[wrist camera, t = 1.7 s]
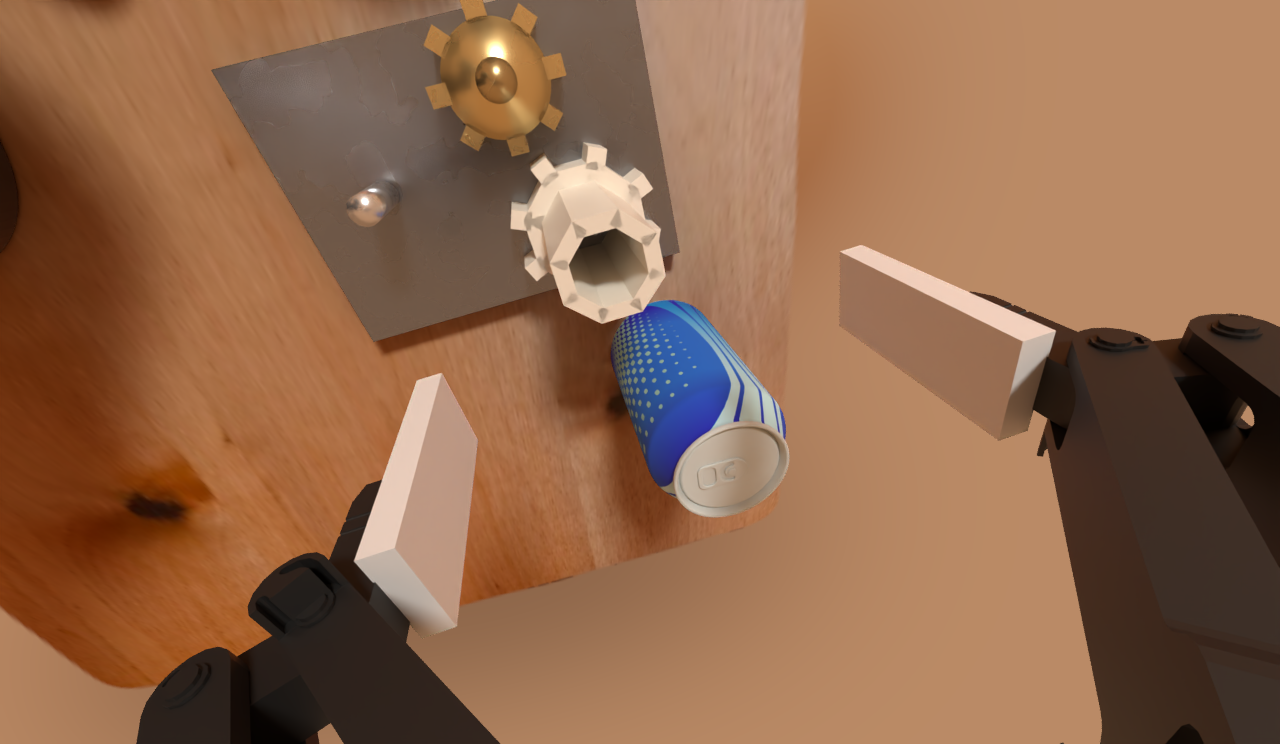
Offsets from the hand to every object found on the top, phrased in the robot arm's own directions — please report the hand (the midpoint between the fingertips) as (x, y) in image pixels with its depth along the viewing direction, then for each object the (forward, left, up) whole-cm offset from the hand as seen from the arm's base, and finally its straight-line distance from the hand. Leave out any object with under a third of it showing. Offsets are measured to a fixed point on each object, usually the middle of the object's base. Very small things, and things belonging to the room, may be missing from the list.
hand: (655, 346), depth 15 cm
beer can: (+3, -11, -21) cm, 24 cm away
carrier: (-5, +4, -20) cm, 21 cm away
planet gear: (0, 0, -19) cm, 19 cm away
